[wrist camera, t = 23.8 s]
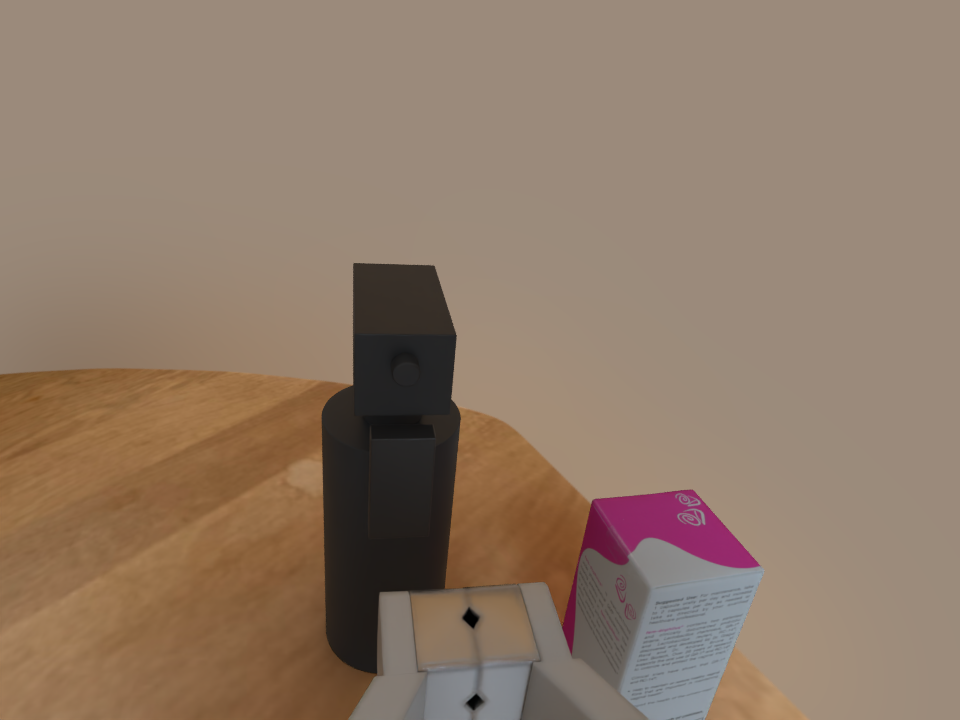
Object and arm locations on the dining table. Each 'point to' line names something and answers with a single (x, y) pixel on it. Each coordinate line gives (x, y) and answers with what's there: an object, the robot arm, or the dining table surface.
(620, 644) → the supplement box
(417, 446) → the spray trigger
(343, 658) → the spray bottle
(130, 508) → the dining table surface
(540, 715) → the robot arm
